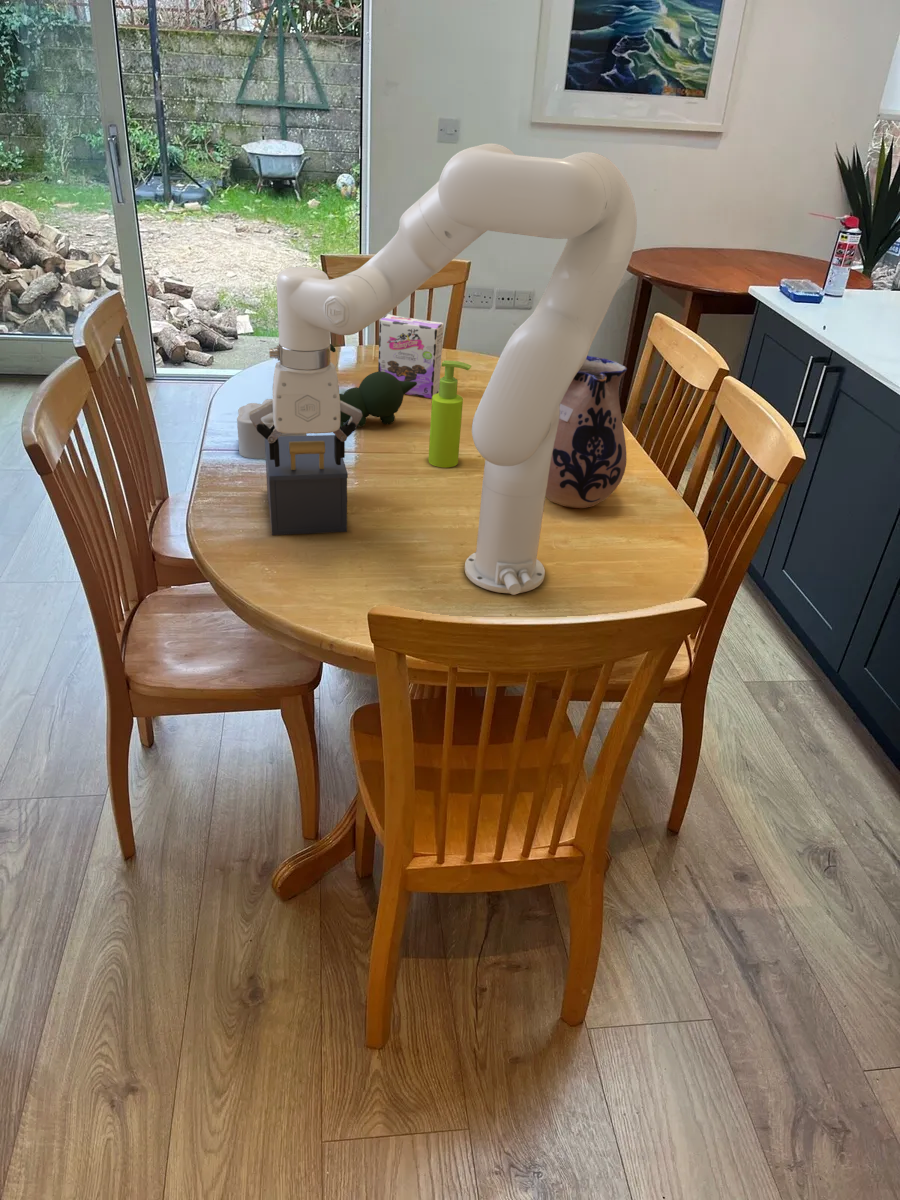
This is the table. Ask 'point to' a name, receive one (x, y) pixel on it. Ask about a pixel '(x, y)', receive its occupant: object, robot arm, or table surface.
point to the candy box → (412, 352)
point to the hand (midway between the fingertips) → (307, 462)
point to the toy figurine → (376, 396)
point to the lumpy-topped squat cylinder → (253, 432)
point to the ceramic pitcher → (589, 437)
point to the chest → (307, 505)
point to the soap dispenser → (446, 419)
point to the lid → (305, 459)
